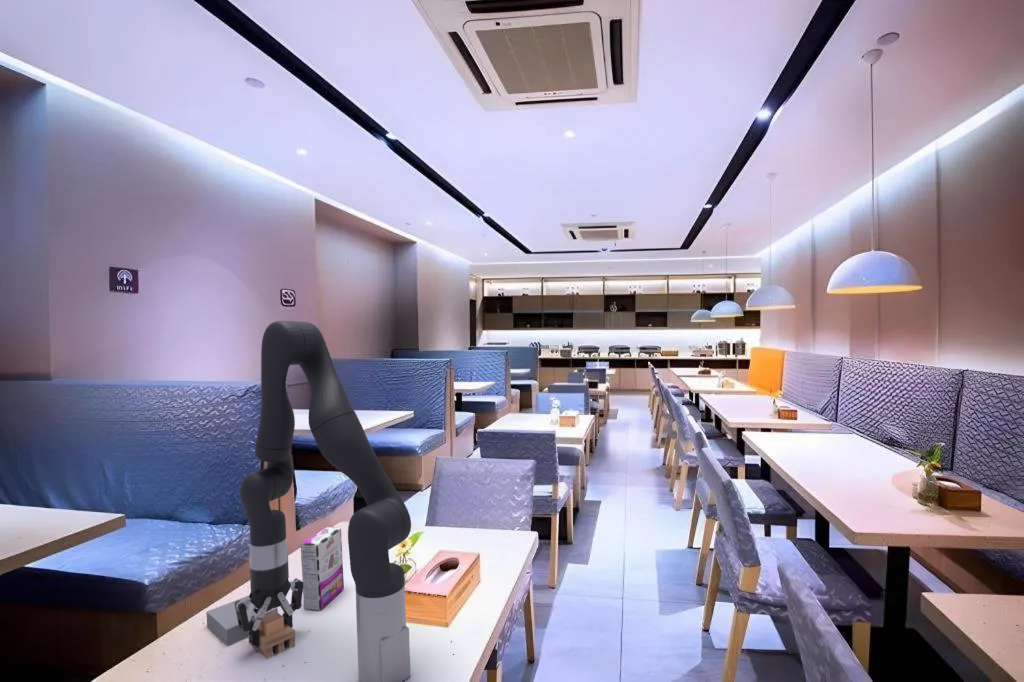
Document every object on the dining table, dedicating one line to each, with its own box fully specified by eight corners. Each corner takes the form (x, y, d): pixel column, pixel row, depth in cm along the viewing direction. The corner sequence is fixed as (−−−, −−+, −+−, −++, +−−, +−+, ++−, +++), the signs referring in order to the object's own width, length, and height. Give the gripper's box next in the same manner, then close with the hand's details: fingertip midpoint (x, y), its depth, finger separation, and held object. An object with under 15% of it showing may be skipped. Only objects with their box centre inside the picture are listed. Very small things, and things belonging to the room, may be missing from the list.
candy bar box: (327, 588, 137) (325, 526, 137) (344, 589, 136) (342, 526, 136) (301, 610, 126) (299, 542, 126) (320, 611, 125) (318, 543, 125)
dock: (278, 623, 120) (277, 608, 120) (227, 645, 112) (226, 629, 112) (256, 607, 128) (255, 592, 128) (207, 626, 120) (206, 611, 120)
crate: (283, 628, 112) (283, 616, 112) (267, 636, 109) (266, 624, 109) (275, 622, 115) (275, 610, 115) (258, 629, 112) (258, 617, 112)
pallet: (295, 645, 111) (294, 630, 111) (267, 658, 107) (266, 643, 107) (276, 630, 117) (276, 616, 117) (248, 642, 113) (248, 628, 113)
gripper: (241, 578, 104) (244, 661, 104) (309, 554, 115) (312, 629, 115) (226, 568, 109) (229, 647, 109) (293, 546, 120) (295, 618, 120)
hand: (271, 638), depth 112 cm, fingers closed on pallet, 6 cm apart
